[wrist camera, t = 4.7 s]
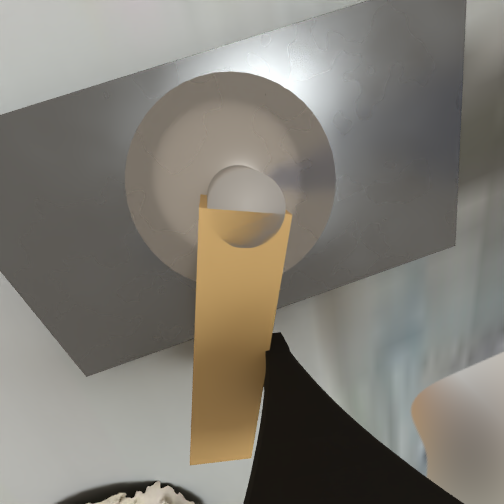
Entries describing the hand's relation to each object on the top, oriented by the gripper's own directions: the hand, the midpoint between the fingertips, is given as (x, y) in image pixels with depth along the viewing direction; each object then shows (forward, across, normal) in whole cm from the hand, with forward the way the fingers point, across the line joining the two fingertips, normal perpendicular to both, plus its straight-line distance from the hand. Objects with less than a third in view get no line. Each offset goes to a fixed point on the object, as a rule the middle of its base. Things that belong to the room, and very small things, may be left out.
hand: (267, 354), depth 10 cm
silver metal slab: (+4, 0, -5) cm, 7 cm away
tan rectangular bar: (+1, +1, -1) cm, 2 cm away
